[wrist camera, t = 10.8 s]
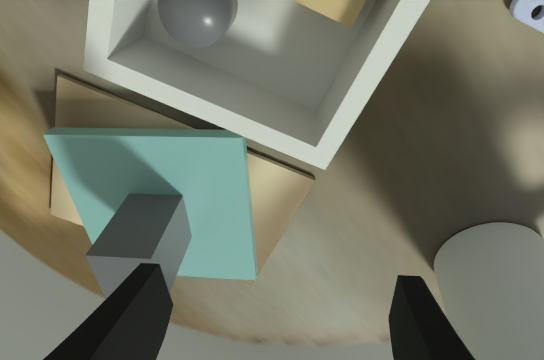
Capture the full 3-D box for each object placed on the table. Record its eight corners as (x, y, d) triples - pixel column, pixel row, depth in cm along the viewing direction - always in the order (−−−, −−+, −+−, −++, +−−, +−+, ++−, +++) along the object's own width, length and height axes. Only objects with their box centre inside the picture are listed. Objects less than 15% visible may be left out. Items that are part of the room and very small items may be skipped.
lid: (247, 122, 18) (220, 197, 13) (259, 260, 24) (243, 349, 19) (61, 120, 19) (-29, 188, 14) (115, 253, 25) (64, 334, 20)
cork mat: (315, 177, 20) (315, 180, 20) (252, 281, 26) (251, 285, 25) (60, 73, 18) (57, 75, 18) (53, 211, 24) (50, 214, 23)
